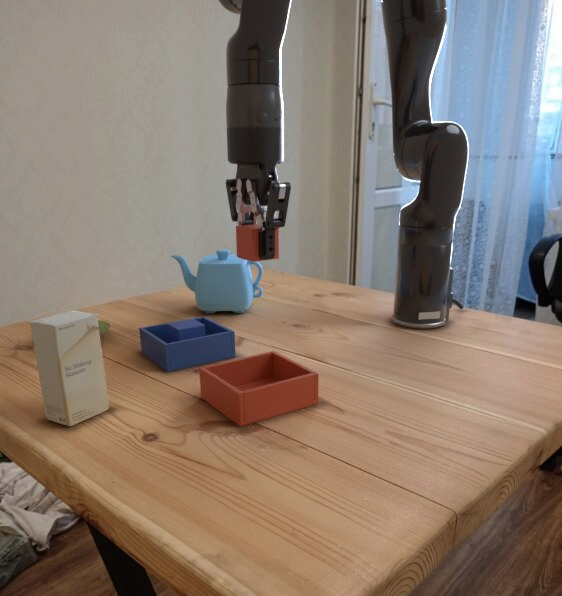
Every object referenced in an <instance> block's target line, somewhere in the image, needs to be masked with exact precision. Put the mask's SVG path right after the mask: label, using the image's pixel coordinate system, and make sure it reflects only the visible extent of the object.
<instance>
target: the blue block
mask: <svg viewBox="0 0 562 596" xmlns="http://www.w3.org/2000/svg"><path fill="white" fill-rule="evenodd" d="M166 323H167V333H168V343H172V342H177V341H182V340H187V339H192V338H197V337H202V336H206V331H205V325H204V324H202V323H200V322H198V321H196V320H195V319H192V318H187V320H186V319H182V320H181V319H180V320H175V321H170V323H169V322H166Z"/></svg>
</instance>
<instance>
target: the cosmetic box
mask: <svg viewBox="0 0 562 596" xmlns="http://www.w3.org/2000/svg"><path fill="white" fill-rule="evenodd" d="M98 320H99V318H98V314H97V313H94V312H93V313H92V312H87V311H83V310H76V309H72V310H67V311H64V312H61V313H56V314H51V315H49V316H45V317H40V318H38V319H34V320H30V321H29V325H30V331H31V336H32V340H33V341H32V343H33V348H34V353H35V354H34V355H35V360H36V365H37V371H38V376H39V382H40V387H41V394H42V400H43V406H44V412H45V418H46V420H48V421H51V422H55V423H56V424H59V425H64V426H66V427H73V426H75V425H78V424H80V423H82V422H83V421H87V420H89V419H91V418H93V417H95V416H97V415H101V414H103V413H104V412H106V411H108V410H109V409H110V404H109V397H108V389H107V381H106V373H105V365H104V358H103V349H102V342H101V335H100V334H101V333H100V334H99V327H98Z"/></svg>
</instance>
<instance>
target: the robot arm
mask: <svg viewBox="0 0 562 596" xmlns="http://www.w3.org/2000/svg"><path fill="white" fill-rule="evenodd" d="M218 2H219V4H220V5H221V6H222V7H223V8H224V9H225V10H226V11H228V12H229V13H232V14H234V15H237V16H239V22H238V27H237V28H236V30H235V32H234V33H233V34H232V35H231V36H230V37H229V39H227V43H226V49H225V56H226V57H225V62H226V63H225V64H226V65H225V67H226V86H227V87H226V100H225V119H226V143H227V144H226V148H227V153H226V154H227V161H228V163H229V164H231V165H236V172H235V178H229V179H228V178H227V179H226V180H225V188H226V195H227V199H228V200H227V201H228V207H229V211H230V212H229V213H230V218H231V221H232V222H233V223H234V222H236V224H237V226H241V225H253V224H258V229H259V231H260V232H258V236H259V258H260V259H263V261H267V260H266V259H272V260H274V259H273V258H274V257H275V231H276V230H277V229H278V228H279V229H280V228H284V227H285V226H286V221H287V214H288V209H289V202H290V197H291V190H292V185H291V183H290V182H289V181H284V182H282V181H280V180H279V176H278V171H277V164H278V165H279V164H283V162H284V160H285V159H284V158H285V131H284V130H285V122H284V121H285V120H284V119H285V116H284V113H285V111H284V109H285V108H284V99H283V87H282V84H283V83H282V82H283V81H282V79H283V78H282V72H283V71H282V69H283V68H282V66H283V65H282V48H283V44H284V39H285V36H286V31H287V27H288V21H289V16H290V9H291V5H292V0H218ZM380 7H381V17H382V22H383V31H384V38H385V44H386V50H387V51H386V52H387V53H386V54H387V62H388V63H387V65H388V74H389V83H390V85H389V86H390V95H391V97H390V98H391V127H392V153H393V160H394V164H395V167H396V170H397V172H398V173H399V175H400V176H401V177H402V178H403V179H405V180H406V181H410V182H414V183H415V182H416V183H419V185H418V191H417V195H416V197H415V198H414V199H413V200H412V201H411V202H410V203H407V204H405V205H403V206H402V207H401V209H400V210H399V211H400V212H399V216H398V217H399V220H398V233H397V236H398V237H397V250H396V254H397V255H396V266H395V267H396V268H395V281H394V283H395V284H394V299H393V310H392V322H393V323H394V324H396V325H398V326H401V327H404V328H411V329H437V328H440V327H443V326H444V325H445V324H446V322H449V319H450V310H451V309H452V307H453V304H455V305H456V306H457V308H459V310H463V309H464V306H463V304H462V303H461V302H460V301H458V299H455V298H454V293H453V292H452V290H453V281H454V269H453V268H452V267H451V263H452V256H453V255H452V254H453V244H454V233H455V223H456V217H457V215H458V213H459V210H460V209H461V205H462V202H463V196H464V189H465V188H464V187H465V183H466V175H467V169H468V162H469V141H468V136H467V134H466V131H465V130H464V128H463V127H462V126H461V125H460V124H458V123H457V122H454V121H433V117H432V109H431V108H432V107H431V84H432V78H433V74H434V70H435V67H436V64H437V62H438V58H439V54H440V51H441V49H442V45H443V43H444V38H445V34H446V30H447V21H448V11H447V0H380ZM277 213H278V216H277Z"/></svg>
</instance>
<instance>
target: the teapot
mask: <svg viewBox="0 0 562 596" xmlns="http://www.w3.org/2000/svg"><path fill="white" fill-rule="evenodd" d="M215 253H216V254H207V255H205V256H203V257H201V258H200V260H199V262H198V266H197V271H196V276H195V275H194V274H193V273H192V272H191V269H190V266H189V264H188V261H187V259H186V258H185V257H184V256H181V255H176V254H169V256H170V257H171V258H173V259H174V260H175V261H176V262H177V263H178V264H179V267H180V269H181V273H182V277H183V281H184V283H185V286H186V287H187V288H188V289H189V290H190V291H191V292H193V293H194V298H195V303H196V305H197V308H198V309H199V311H202V312H204V313H205V314H214V313H216V312H232V313H234V314H241V313H244V312H245V311H246V310H248V309H249V308H250V307H251V305H252V303H253V300H254V298H255V299H257V298H258V299H259V298H261V297H262V296H263V294H264V290H263V288H262V287H261V286H259V284H260V282H261V280H262V277H263V274H264V267H263V266H262V264H261V263H260V261H255V262H251V261H248V260H245V259H241V258H238V257H237V254H231V250H230V249H225V248H224V249H217V250H215ZM250 265H252V266H255V267H257V268H258V273H257V276H256V278H255V280H254V279H253V274H252V270H251V267H250ZM256 290H257V291H259V292H258V293H257V292H256Z"/></svg>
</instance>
